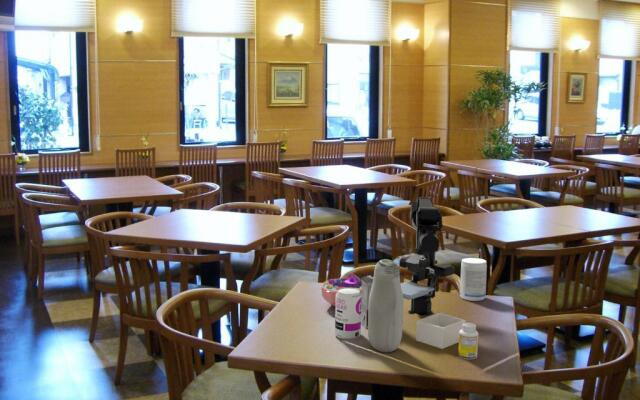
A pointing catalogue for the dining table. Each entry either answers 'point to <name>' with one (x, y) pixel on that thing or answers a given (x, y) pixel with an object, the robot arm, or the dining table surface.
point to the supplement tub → (473, 279)
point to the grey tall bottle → (385, 307)
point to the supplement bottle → (468, 341)
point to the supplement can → (348, 313)
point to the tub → (439, 330)
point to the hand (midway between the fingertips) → (425, 291)
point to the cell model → (339, 287)
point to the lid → (415, 289)
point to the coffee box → (365, 299)
